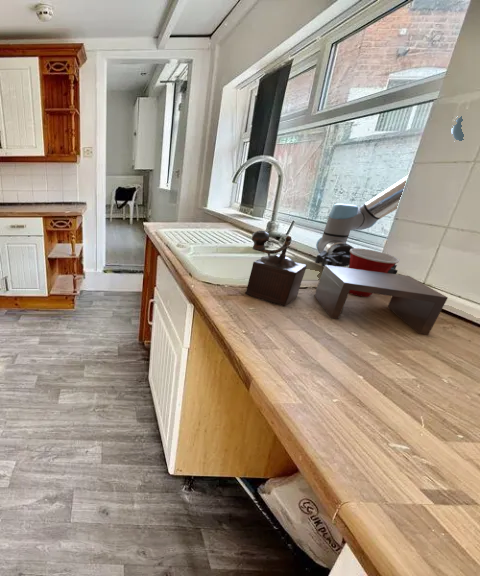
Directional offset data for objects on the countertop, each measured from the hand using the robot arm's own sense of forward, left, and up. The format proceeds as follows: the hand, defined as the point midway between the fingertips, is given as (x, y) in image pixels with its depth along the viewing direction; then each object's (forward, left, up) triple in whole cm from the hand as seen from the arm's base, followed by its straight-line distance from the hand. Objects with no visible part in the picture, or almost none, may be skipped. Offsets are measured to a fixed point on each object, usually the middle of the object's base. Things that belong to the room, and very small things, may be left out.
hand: (364, 271), depth 87 cm
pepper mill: (+26, +18, -7) cm, 33 cm away
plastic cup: (0, +1, -7) cm, 7 cm away
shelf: (+4, +17, -6) cm, 19 cm away
